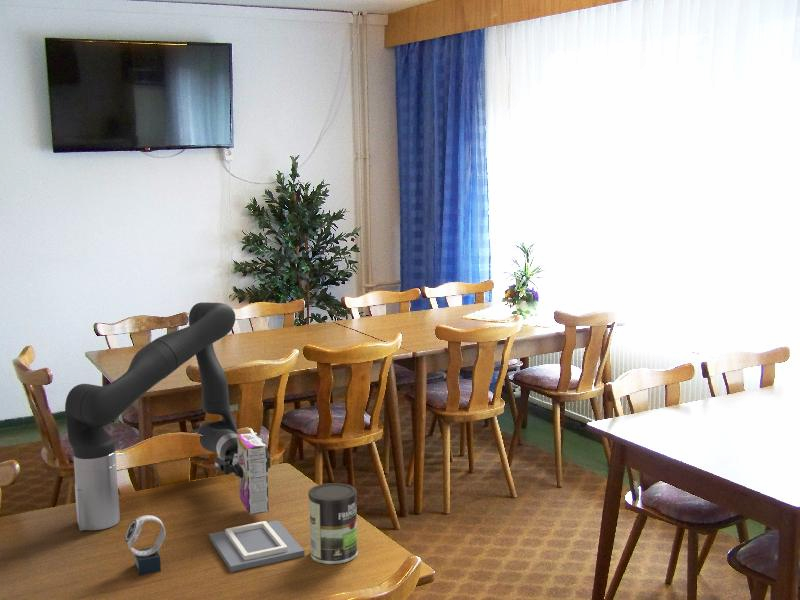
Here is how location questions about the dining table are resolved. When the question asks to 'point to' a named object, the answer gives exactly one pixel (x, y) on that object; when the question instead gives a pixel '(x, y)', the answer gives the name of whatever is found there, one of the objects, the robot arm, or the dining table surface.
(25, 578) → the dining table surface
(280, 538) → the collar plate
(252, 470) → the candy bar box
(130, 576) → the dining table surface
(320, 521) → the coffee can
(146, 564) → the watch
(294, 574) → the dining table surface
